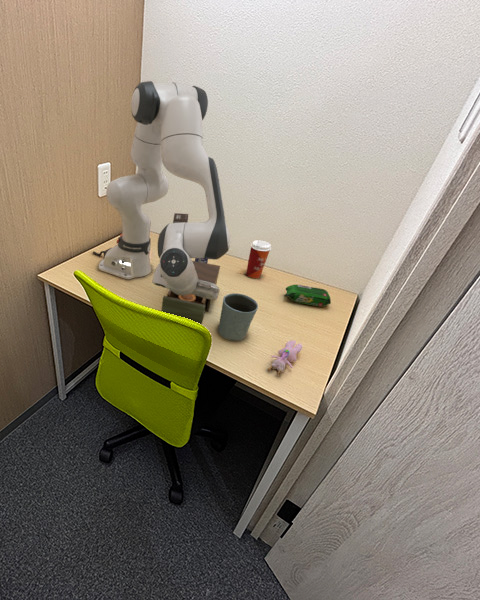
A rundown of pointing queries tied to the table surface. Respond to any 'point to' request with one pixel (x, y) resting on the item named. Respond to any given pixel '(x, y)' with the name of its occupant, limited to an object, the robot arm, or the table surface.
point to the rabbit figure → (286, 356)
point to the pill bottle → (201, 260)
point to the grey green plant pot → (236, 316)
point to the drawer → (184, 307)
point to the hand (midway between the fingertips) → (188, 291)
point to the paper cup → (257, 258)
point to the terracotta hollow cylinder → (187, 297)
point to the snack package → (308, 295)
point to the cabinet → (207, 275)
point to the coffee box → (180, 218)
